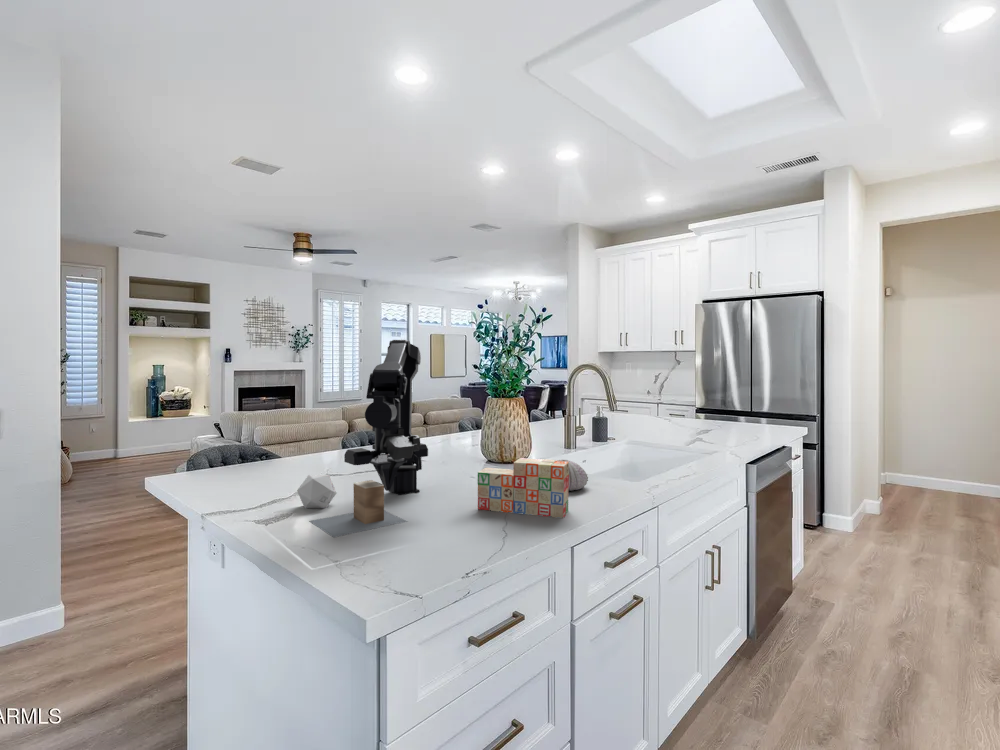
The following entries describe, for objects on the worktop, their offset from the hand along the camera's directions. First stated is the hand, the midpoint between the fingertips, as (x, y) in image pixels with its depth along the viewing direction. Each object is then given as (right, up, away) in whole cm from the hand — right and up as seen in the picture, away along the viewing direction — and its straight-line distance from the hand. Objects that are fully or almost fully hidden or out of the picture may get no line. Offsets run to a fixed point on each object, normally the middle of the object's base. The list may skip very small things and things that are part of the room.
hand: (387, 490), depth 123 cm
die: (-19, -6, +8) cm, 21 cm away
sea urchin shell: (+44, -6, +29) cm, 53 cm away
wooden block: (-4, -6, -3) cm, 7 cm away
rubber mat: (-6, -6, -4) cm, 9 cm away
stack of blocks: (+31, -6, +6) cm, 33 cm away
